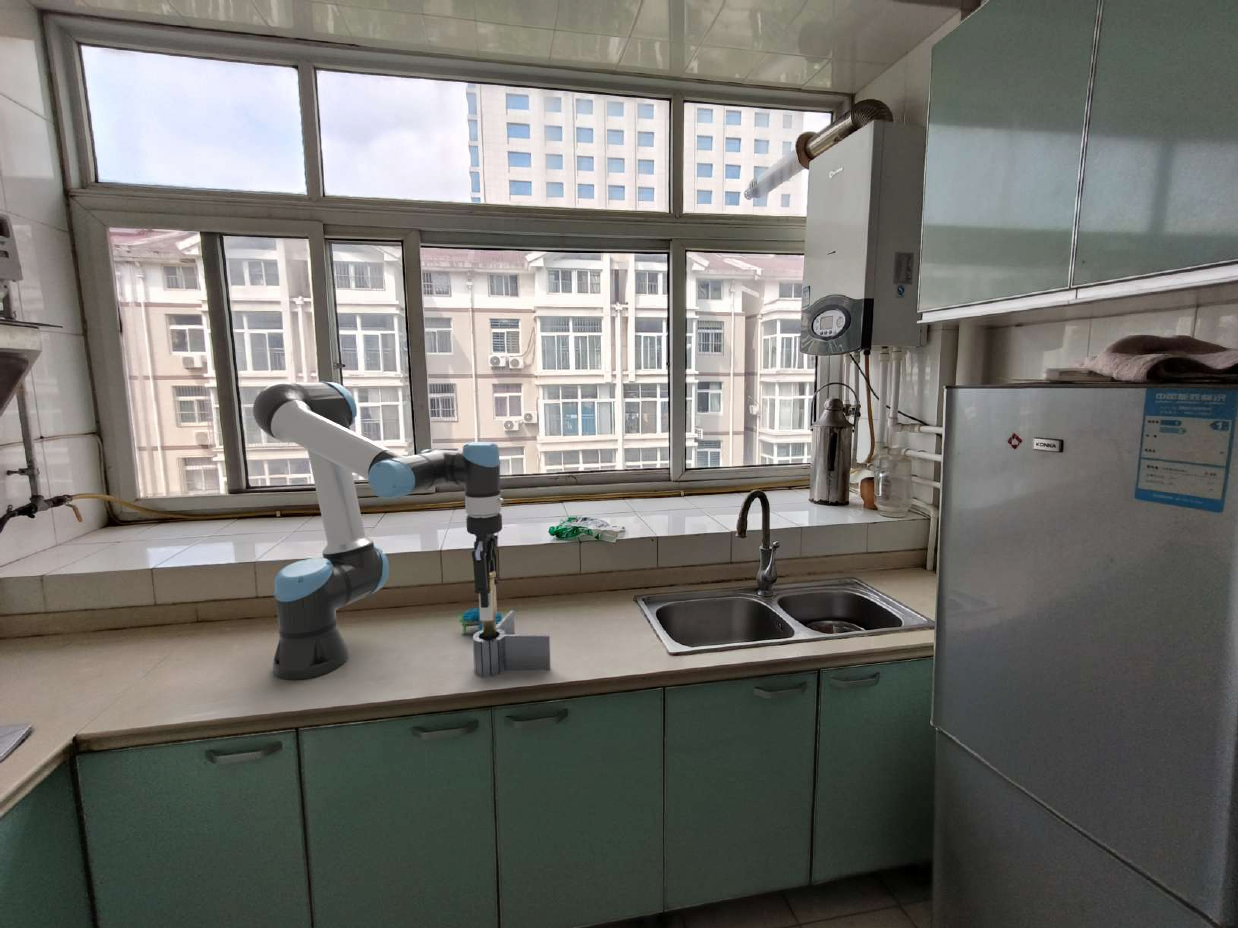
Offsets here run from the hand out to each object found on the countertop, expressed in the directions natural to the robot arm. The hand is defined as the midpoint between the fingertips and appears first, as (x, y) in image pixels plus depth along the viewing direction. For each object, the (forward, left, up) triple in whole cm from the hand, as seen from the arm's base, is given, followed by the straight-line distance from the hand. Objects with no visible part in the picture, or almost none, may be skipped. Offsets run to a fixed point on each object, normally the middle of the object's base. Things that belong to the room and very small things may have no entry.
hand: (488, 616), depth 128 cm
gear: (-7, +19, -13) cm, 24 cm away
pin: (0, 0, -4) cm, 4 cm away
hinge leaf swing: (+2, +9, -13) cm, 15 cm away
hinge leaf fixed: (+5, 0, -13) cm, 14 cm away
